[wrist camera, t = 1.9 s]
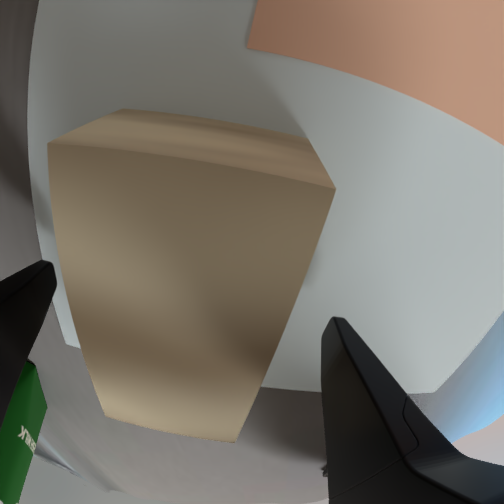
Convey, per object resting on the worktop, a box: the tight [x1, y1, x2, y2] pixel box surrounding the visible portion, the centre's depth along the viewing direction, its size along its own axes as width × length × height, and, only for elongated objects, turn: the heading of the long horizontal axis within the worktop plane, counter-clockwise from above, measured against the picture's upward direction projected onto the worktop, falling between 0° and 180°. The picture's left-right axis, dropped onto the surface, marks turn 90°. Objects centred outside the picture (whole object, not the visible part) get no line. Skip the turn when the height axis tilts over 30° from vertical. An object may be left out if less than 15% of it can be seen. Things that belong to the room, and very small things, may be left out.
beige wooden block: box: [47, 109, 336, 443], centre depth 9 cm, size 10×5×4 cm, turn 169°
